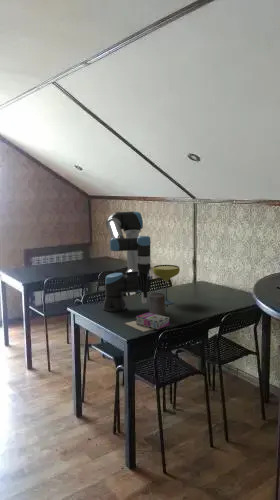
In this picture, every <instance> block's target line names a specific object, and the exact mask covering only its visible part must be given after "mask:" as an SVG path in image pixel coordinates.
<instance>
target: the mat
mask: <svg viewBox="0 0 280 500" xmlns="http://www.w3.org/2000/svg"><path fill="white" fill-rule="evenodd" d="M124 325H126V326H128V327H130V328H133V329H135V330H137V331H139V332H141V331H142V332H141V333H146V332H150V331H154V330H155V329H154V328H150V327H146V326H142V325H139V324H136V320H133V321H128V322H124Z"/></svg>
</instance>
